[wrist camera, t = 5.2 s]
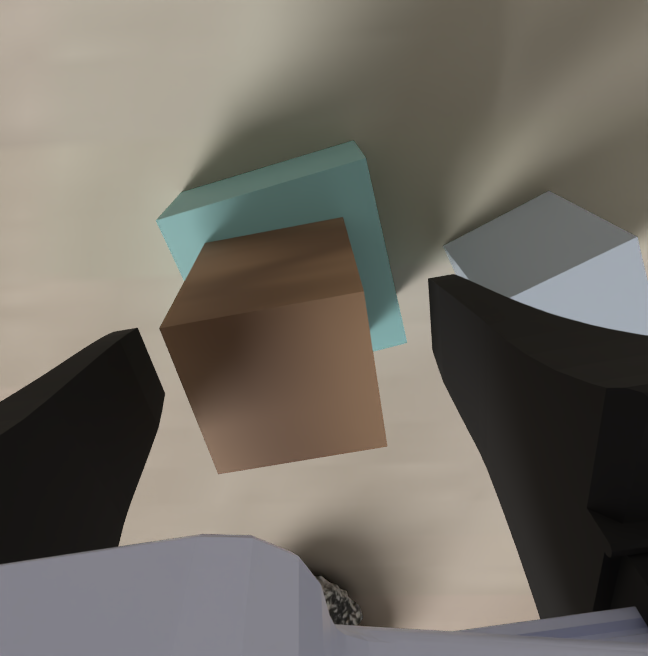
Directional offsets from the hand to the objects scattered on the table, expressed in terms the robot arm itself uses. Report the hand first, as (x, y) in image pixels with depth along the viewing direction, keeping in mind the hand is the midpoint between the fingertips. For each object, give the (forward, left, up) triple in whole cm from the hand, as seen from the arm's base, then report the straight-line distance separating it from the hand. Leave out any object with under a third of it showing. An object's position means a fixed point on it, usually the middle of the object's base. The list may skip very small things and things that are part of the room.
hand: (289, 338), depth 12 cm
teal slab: (0, 0, -6) cm, 7 cm away
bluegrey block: (-8, +2, -6) cm, 10 cm away
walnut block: (0, 0, -3) cm, 3 cm away
